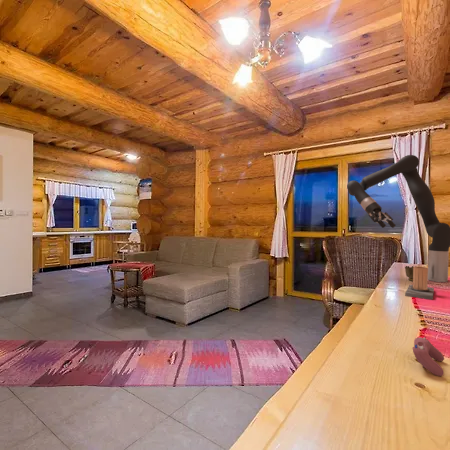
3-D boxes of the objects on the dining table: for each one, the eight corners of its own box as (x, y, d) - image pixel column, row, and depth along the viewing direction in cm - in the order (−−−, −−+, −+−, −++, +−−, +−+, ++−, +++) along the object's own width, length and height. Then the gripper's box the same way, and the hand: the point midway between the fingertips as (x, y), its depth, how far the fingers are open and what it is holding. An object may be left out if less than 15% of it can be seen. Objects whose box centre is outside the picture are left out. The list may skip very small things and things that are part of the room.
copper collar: (417, 286, 137) (417, 266, 137) (429, 289, 132) (430, 268, 132) (410, 288, 134) (410, 267, 134) (423, 290, 130) (423, 269, 129)
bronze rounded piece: (406, 281, 159) (407, 267, 159) (402, 278, 166) (403, 265, 166) (422, 282, 157) (422, 268, 156) (417, 279, 164) (417, 266, 163)
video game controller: (425, 362, 71) (410, 334, 73) (446, 359, 69) (430, 330, 70) (422, 379, 63) (406, 347, 65) (445, 377, 61) (428, 344, 63)
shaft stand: (409, 287, 144) (410, 266, 144) (433, 290, 138) (434, 268, 138) (405, 295, 128) (405, 272, 128) (432, 299, 122) (433, 274, 122)
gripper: (366, 201, 159) (386, 221, 149) (382, 202, 165) (402, 222, 155) (358, 210, 164) (376, 231, 154) (374, 211, 170) (392, 231, 160)
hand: (389, 226), depth 155 cm, fingers open, 8 cm apart
